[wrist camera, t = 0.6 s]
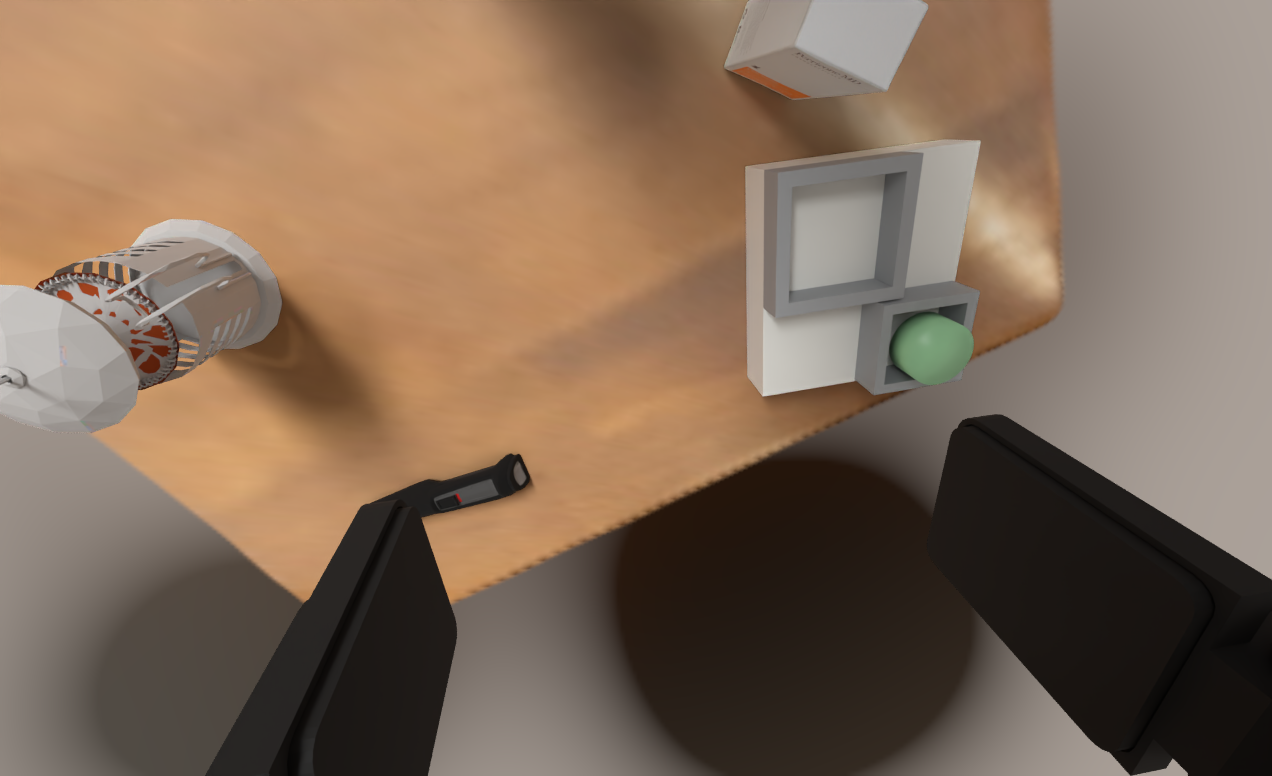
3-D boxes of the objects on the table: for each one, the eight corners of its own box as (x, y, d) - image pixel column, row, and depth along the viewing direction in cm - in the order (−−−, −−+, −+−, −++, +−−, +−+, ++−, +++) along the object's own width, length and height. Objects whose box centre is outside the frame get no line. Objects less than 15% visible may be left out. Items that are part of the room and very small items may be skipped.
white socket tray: (745, 166, 39) (780, 173, 33) (943, 139, 40) (1014, 141, 34) (747, 376, 47) (776, 414, 41) (911, 349, 48) (963, 382, 42)
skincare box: (721, 70, 36) (790, 45, 25) (746, -1, 34) (831, -58, 23) (794, 104, 37) (888, 94, 27) (822, 38, 36) (934, 1, 25)
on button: (893, 316, 39) (915, 329, 37) (954, 307, 40) (979, 318, 37) (885, 374, 42) (905, 389, 39) (943, 365, 42) (966, 379, 40)
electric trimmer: (358, 492, 48) (345, 515, 45) (518, 447, 48) (515, 468, 45) (377, 521, 49) (366, 545, 47) (531, 478, 49) (529, 500, 47)
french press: (93, 265, 36) (-652, 486, 14) (219, 175, 34) (-382, 260, 12) (214, 372, 40) (-202, 666, 18) (330, 296, 39) (33, 515, 17)
